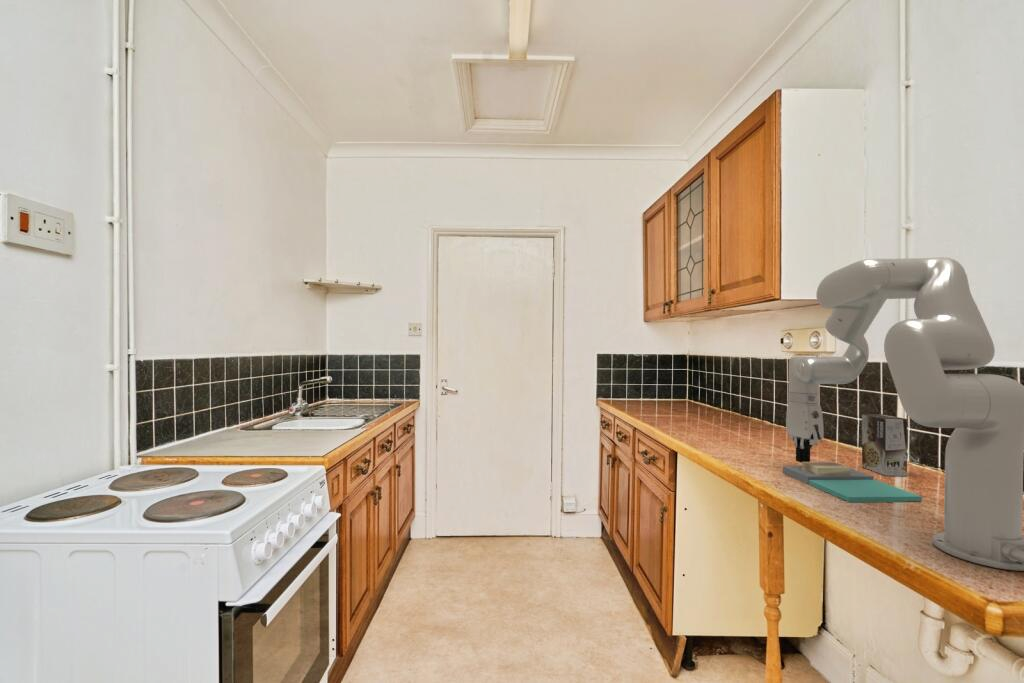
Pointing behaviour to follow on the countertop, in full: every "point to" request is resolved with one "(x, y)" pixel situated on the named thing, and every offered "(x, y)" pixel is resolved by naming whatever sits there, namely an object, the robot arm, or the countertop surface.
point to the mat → (864, 491)
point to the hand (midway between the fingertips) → (802, 461)
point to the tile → (826, 468)
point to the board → (806, 476)
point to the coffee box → (884, 444)
